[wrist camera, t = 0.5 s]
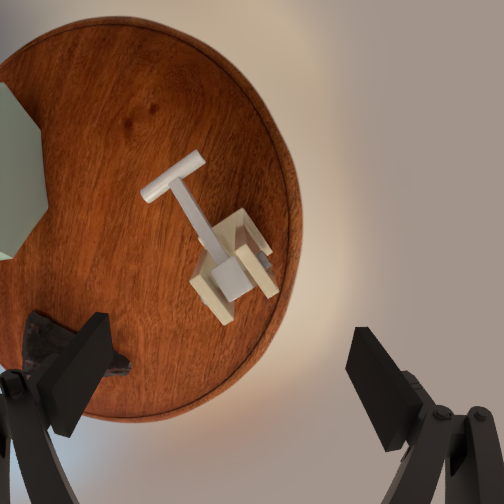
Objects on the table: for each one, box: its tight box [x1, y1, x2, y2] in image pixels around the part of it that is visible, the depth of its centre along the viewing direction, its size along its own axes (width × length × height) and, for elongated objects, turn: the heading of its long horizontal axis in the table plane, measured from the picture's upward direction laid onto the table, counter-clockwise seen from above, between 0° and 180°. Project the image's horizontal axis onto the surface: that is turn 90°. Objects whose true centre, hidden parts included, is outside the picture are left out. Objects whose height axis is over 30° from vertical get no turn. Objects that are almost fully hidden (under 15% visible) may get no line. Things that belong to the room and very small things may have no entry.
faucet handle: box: [140, 149, 257, 303], centre depth 25 cm, size 12×6×2 cm, turn 34°
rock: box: [22, 311, 131, 379], centre depth 35 cm, size 7×18×9 cm, turn 69°
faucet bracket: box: [189, 207, 279, 325], centre depth 30 cm, size 6×6×14 cm
